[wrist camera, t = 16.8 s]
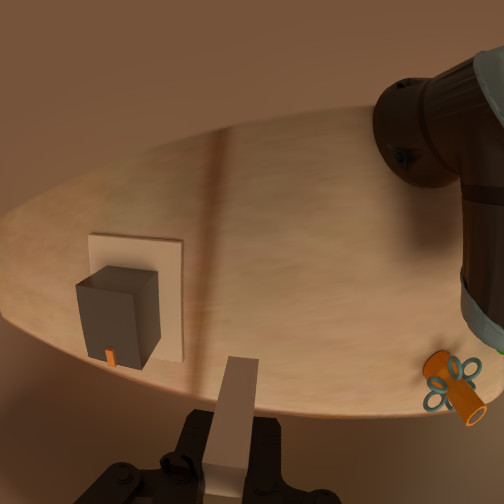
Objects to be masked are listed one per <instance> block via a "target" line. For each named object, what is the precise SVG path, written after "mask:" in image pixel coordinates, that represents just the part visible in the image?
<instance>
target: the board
mask: <svg viewBox="0 0 504 504" xmlns="http://www.w3.org/2000/svg"><path fill="white" fill-rule="evenodd" d="M88 244H89V261H90V273H91V275H92V274H94V273H96V272H97V271H99V270H100V269H102V268H104V267H105V266H107V265H109V266H116V267H124V268H132V269H141V270H149V271H158V283H159V309H160V326H161V339H160V341H159V342H158V344H157V346H156V347H155V349H154V351H153V352H152V354H151V356H150V357H151V358H156V359H161V360H167V361H172V362H178V363H183V361H184V331H183V254H184V241H176V240H165V239H153V238H142V237H130V236H118V235H107V234H95V233H92V234H89V235H88Z"/></svg>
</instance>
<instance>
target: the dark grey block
mask: <svg viewBox="0 0 504 504" xmlns="http://www.w3.org/2000/svg"><path fill="white" fill-rule="evenodd" d="M76 293H77V300H78V306H79V312H80V318H81V323H82V329H83V334H84V338H85V343H86V348H87V352H88V356H89V357H91V358H94V359H98V360H102V361H105V362H108V366H112V367H116V366H117V365H121V366H125V367H129V368H133V369H138V370H142V369H143V367H144V366H145V364H146V362H147V361H148V359H149V357H150V356H151V354H152V352H153V351H154V349H155V347H156V346H157V344H158V342H159V341H160V339H161V326H160V309H159V283H158V271H149V270H141V269H132V268H124V267H116V266H109V265H107V266H105V267H104V268H102V269H100V270H99V271H97V272H96V273H94V274H92V275H91V276H89V277H88V278H86V279H84V280H83V281H81V282H80V283H78V284H76Z"/></svg>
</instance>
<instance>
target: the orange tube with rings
mask: <svg viewBox="0 0 504 504" xmlns="http://www.w3.org/2000/svg"><path fill="white" fill-rule="evenodd" d="M471 362H475V363H477V365H478V368H477V370H476V372H475V373H474V374H472V375H470V376H467V375H465V374H464V368H465V367H466V365H467V364H469V363H471ZM481 368H482V363H481V361H480V360H479V359H478V358H469V359H467V360H466V361H465V362H464V363H463V364H462V365H461V363H460V361H459V359H458V358H457V357H456V356H451V355H450V354H449V353H448V352H446V351H440V352H437V353H436V354H434V355H433V356H431V357H430V358H429V360H428V361H427V362H426V364H425V366H424V370H423V373H424V376H425V377H426V379H427V385H428V387H429V388H430V389H431V390H433V391H431V392H430V393H429V394H428V395H427V396H426V397H425V399H424V402H423V407H424V409H425V410H426V411H428V412H435V411H437V410H439V409H440V408H441V407H442V406H443V405H444V403H445V405H446V407H447V408H448V409H449V410H450V411H453V410H455V409H456V411H457V412H458V414H459V415H460V417H461V418H462V419H463V421H464V422H465V424H466V425H467V426H471V425H473V424H474V423H476V422H477V421H478V420H479V419H481V417H482V416H483V415H484V414H485V412H486V410H487V406H486V405H485V404H484V403H483V401H482V400H481V399H480V398H479V396H478V395H477V394H476V393H475V392H474V391H475V389H476V386H475V384H474V383H473V382H472V381H471V380H472V379H474V378H475V377H476V376H478V374H479V373H480V371H481ZM470 386H471V387H472V388H471V387H470ZM434 394H440V395H441V397H442V400H441V402H440V404H439V405H438V406H436V407H434V408H430V407H429V406H428V404H427V402H428V400H429V398H430V397H431V396H432V395H434ZM448 400H449V401H450V402H451V404H452V406H451V405H450V403H449V401H448Z"/></svg>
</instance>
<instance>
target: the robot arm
mask: <svg viewBox="0 0 504 504" xmlns="http://www.w3.org/2000/svg"><path fill="white" fill-rule="evenodd" d="M373 126H374V134H375V138H376V142H377V145H378V148H379V150H380V152H381V154H382V156H383V158H384V160H385V161H386V163H387V164H388V166H389V167H390V168H391V169H392V170H393V171H394V172H395V173H396V174H397V175H398V176H399V177H400V178H401V179H403V180H404V181H406V182H408V183H410V184H412V185H414V186H418V187H423V188H441V187H445V186H447V185H449V184H451V183H453V182H455V181H457V180H459V179H460V182H461V192H462V212H463V264H462V268H461V272H460V281H461V312H462V315H463V318H464V320H465V321H466V322H467V325H468V327H469V329H470V330H471V331H472V332H473V334H474V335H475V336H476V337H477V338H479V339H480V340H481V341H482V342H484V343H485V344H487V345H488V346H490V347H492V348H494V349H496V350H498V351H501V352H504V46H501V47H498V48H495V49H492V50H489V51H481V52H479V53H477V54H476V55H475V56H474V57H472V58H470V59H468V60H466V61H464V62H462V63H460V64H458V65H456V66H454V67H452V68H451V69H449V70H447V71H445V72H443V73H441V74H439V75H437V76H436V77H434V78H406V79H403V80H400V81H398V82H396V83H394V84H393V85H391V86H390V87H388V88H387V89H386V90H385V91H384V92H383V93H382V94H381V96H380V97H379V99H378V101H377V104H376V106H375V110H374V117H373ZM258 361H259V359H250V358H240V357H232V356H229V357H228V361H227V365H226V369H225V373H224V377H223V381H222V385H221V389H220V393H219V397H218V401H217V405H216V409H215V412H209V411H203V410H197V409H194V410H193V411H192V412H191V413H190V414H189V415H188V416H187V418H186V421H185V424H184V427H183V429H182V432H181V435H180V438H179V440H178V443H177V446H176V449H175V451H174V452H170V453H167V454H166V455H164V456H163V457H162V458H161V460H160V465H161V468H160V469H157V470H138V469H137V468H136V467H135V466H133V465H131V464H129V463H125V462H119V463H115V464H112V465H111V466H110V467H108V468H107V469H106V471H105V472H104V473H103V474H102V475H101V476H100V477H99V478H98V479H97V480H96V481H95V482H94V483H93V484H92V485H91V486H90V487H89V488H88V489H87V490H86V491H85V492H84V493H83V494H82V495H81V496H80V497H79V498H78V500H76V501H75V502H74V503H73V504H203V496H204V492H205V493H208V494H215V495H222V496H229V497H237V498H242V504H342V503H341V501H340V499H339V498H338V496H337V495H336V494H335V493H333V492H332V491H330V490H325V489H318V490H314V491H312V492H306V491H302V490H298V489H295V488H292V487H290V486H289V485H287V484H286V483H285V482H284V480H283V478H282V476H281V426H280V424H279V422H278V421H277V419H276V418H266V417H254V416H253V414H254V403H255V393H256V383H257V372H258Z"/></svg>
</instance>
